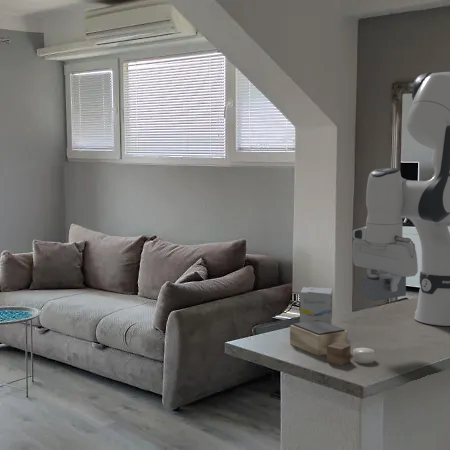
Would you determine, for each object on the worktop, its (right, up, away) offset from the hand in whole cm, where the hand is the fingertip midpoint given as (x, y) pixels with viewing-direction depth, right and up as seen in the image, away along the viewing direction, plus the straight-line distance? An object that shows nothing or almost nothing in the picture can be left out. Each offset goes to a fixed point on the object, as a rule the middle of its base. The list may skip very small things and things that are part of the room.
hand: (383, 288), depth 174 cm
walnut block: (-13, -17, -9) cm, 23 cm away
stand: (-16, -15, +3) cm, 22 cm away
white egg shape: (-7, -17, -8) cm, 19 cm away
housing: (0, -2, 0) cm, 2 cm away
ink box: (-15, -14, +18) cm, 27 cm away
